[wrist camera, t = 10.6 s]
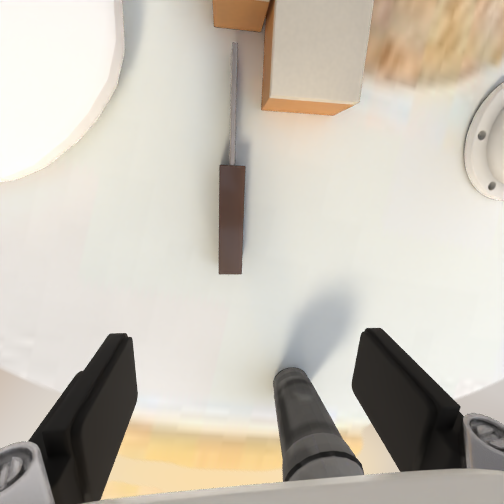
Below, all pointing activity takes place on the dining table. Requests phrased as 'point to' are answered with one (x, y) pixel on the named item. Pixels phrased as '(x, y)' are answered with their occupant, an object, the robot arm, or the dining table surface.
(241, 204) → the knife
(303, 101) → the cake
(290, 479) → the beverage cup
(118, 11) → the white round disc
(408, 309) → the dining table surface
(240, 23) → the cake slice
